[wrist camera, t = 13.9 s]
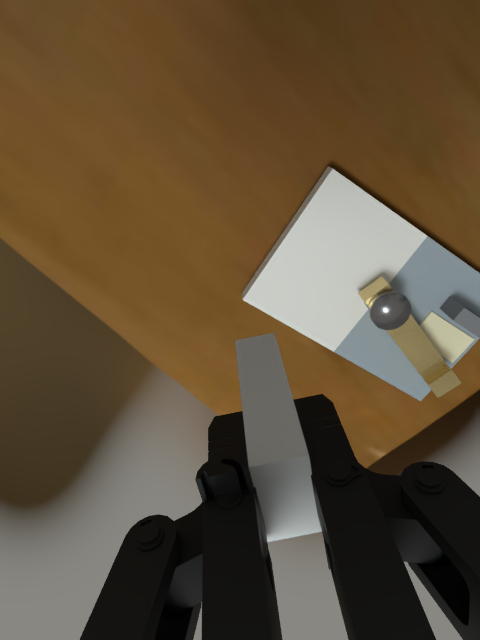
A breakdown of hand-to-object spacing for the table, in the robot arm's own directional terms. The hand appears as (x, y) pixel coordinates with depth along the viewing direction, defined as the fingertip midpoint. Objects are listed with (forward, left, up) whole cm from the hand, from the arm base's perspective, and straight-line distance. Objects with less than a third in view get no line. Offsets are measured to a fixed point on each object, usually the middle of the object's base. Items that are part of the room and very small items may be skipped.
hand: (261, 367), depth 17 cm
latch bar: (0, +20, -24) cm, 32 cm away
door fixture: (-1, +16, -26) cm, 31 cm away
